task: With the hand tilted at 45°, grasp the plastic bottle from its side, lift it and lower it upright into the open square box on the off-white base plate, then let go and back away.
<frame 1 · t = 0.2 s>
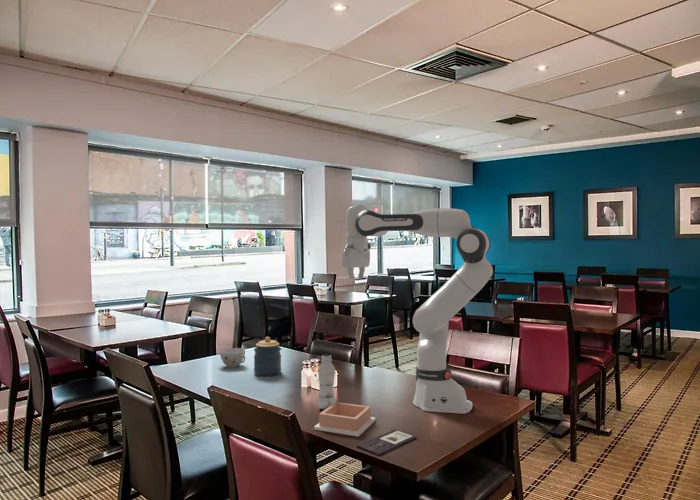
hand: (356, 278, 201), 48 cm above the table, tool pointing down, fingers open, 8 cm apart
chocolate bar: (387, 444, 153), on the table
open square box: (345, 424, 168), on the table
plastic bottle: (326, 409, 184), on the table
teacup: (234, 366, 248), on the table
canister: (267, 373, 235), on the table
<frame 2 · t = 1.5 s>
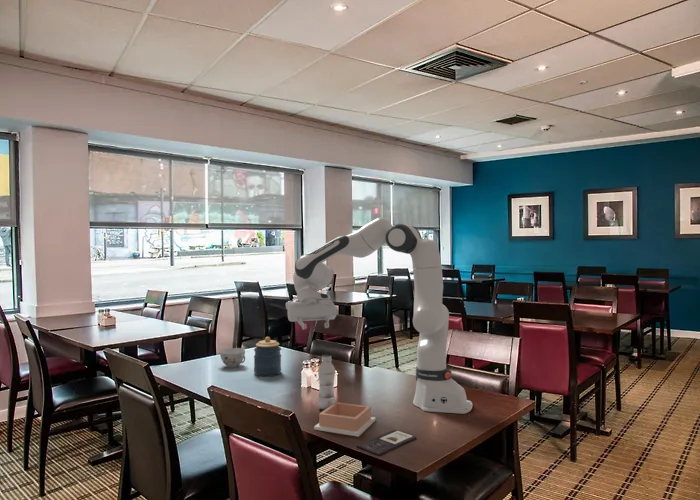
hand: (316, 327, 195), 29 cm above the table, tool tilted 45°, fingers open, 8 cm apart
nothing on the table moved.
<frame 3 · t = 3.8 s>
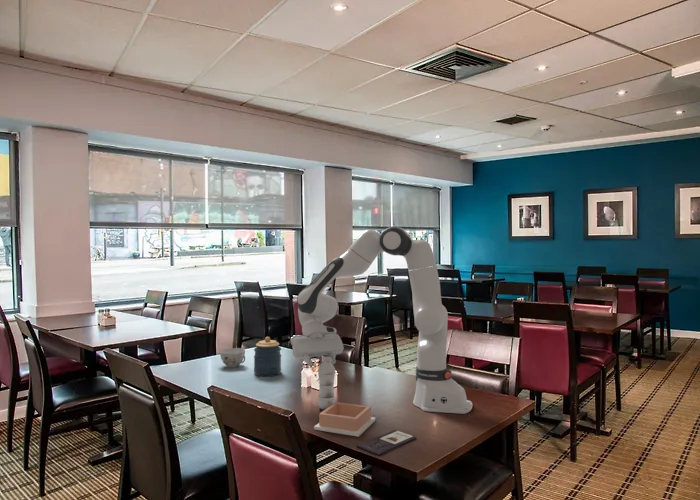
hand: (322, 364, 189), 16 cm above the table, tool tilted 45°, fingers open, 8 cm apart
nothing on the table moved.
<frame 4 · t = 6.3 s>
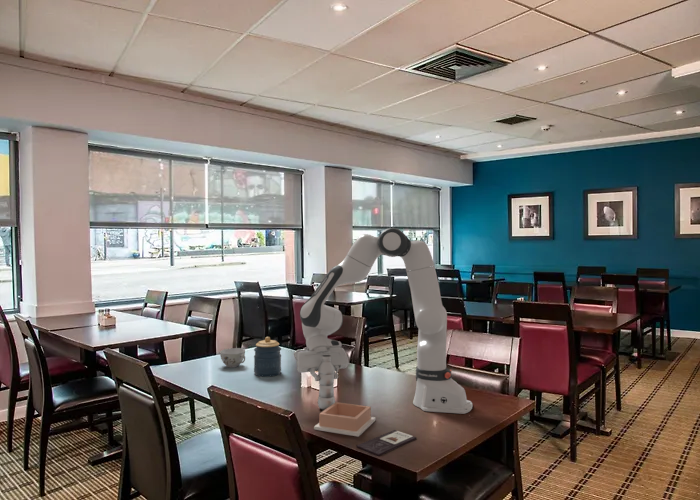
hand: (327, 379, 183), 11 cm above the table, tool tilted 45°, fingers closed on plastic bottle, 6 cm apart
plastic bottle: (326, 409, 184), on the table, touching gripper
everything else where it was.
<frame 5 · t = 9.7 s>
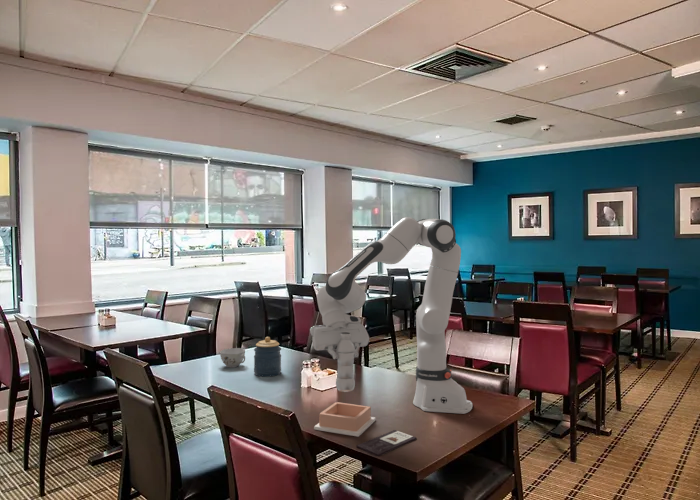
hand: (346, 357, 167), 23 cm above the table, tool tilted 45°, fingers closed on plastic bottle, 6 cm apart
plastic bottle: (345, 391, 168), point 11 cm above the table, touching gripper
everything else where it was.
when the fingers open (14 cm above the table, at t = 12.5 s): plastic bottle stays where it is, resting on open square box.
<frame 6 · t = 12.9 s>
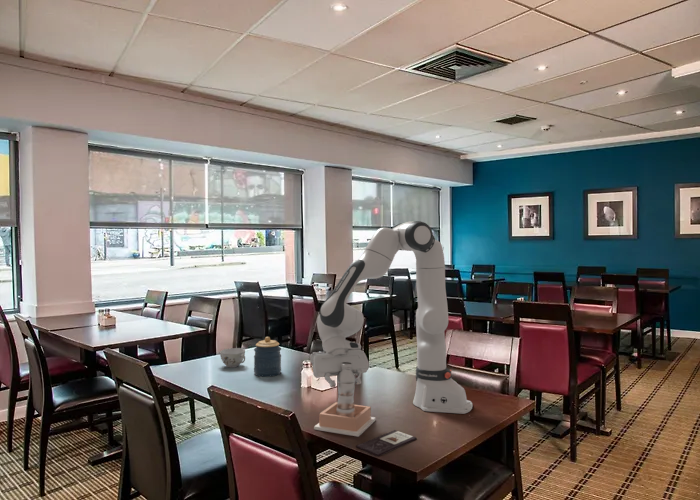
hand: (346, 384, 167), 14 cm above the table, tool tilted 45°, fingers open, 8 cm apart
plastic bottle: (345, 422, 168), point 1 cm above the table, touching open square box
everything else where it was.
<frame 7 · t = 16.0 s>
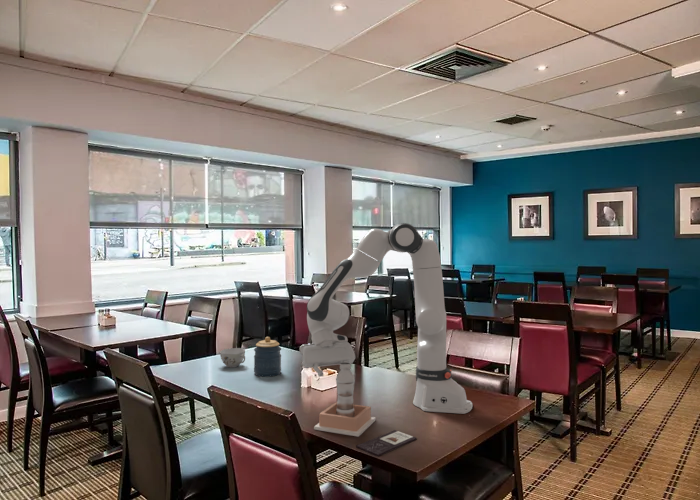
hand: (333, 374, 179), 14 cm above the table, tool tilted 45°, fingers open, 8 cm apart
nothing on the table moved.
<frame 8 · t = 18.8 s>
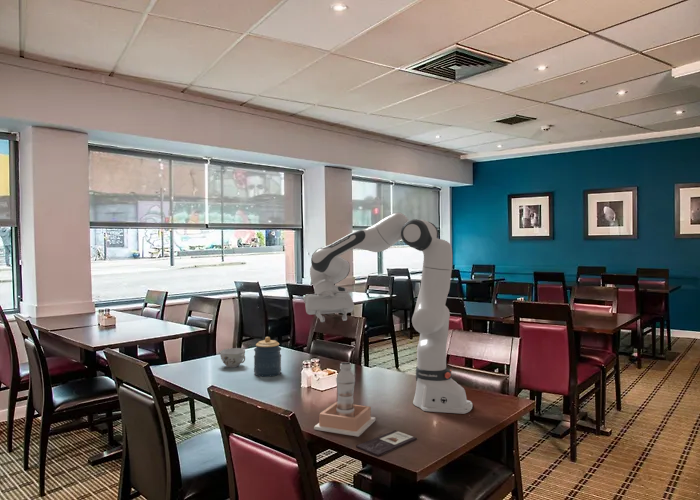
hand: (334, 320, 196), 31 cm above the table, tool tilted 45°, fingers open, 8 cm apart
nothing on the table moved.
at the end: plastic bottle inside the target area on the open square box (0.1 cm from its centre), point 0.8 cm above the open square box's base; plastic bottle tilted 0°; the gripper is holding nothing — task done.
